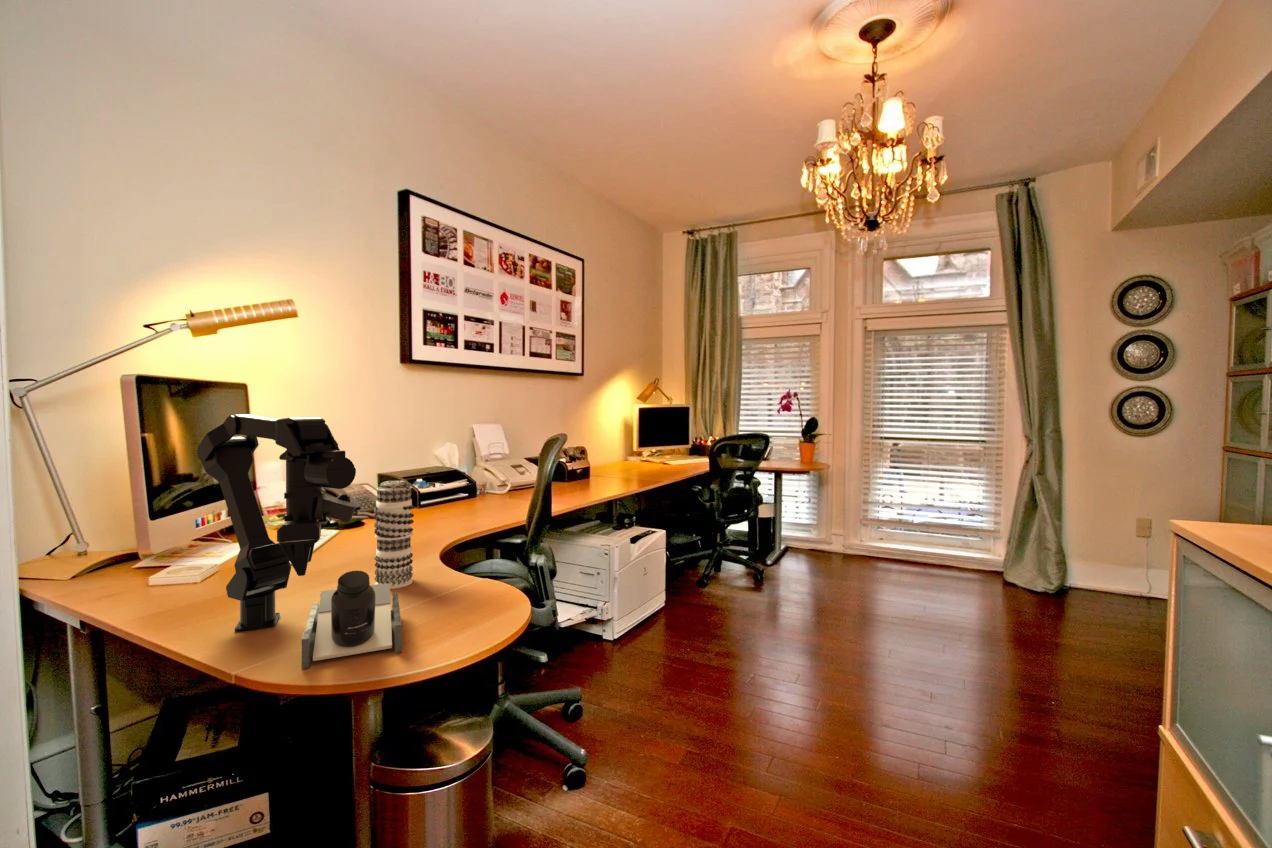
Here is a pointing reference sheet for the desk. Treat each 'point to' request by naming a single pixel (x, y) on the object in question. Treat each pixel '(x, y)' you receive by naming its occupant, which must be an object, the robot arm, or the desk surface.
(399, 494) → the decorative candle
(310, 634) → the flap frame
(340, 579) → the supplement bottle
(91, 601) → the desk surface
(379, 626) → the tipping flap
